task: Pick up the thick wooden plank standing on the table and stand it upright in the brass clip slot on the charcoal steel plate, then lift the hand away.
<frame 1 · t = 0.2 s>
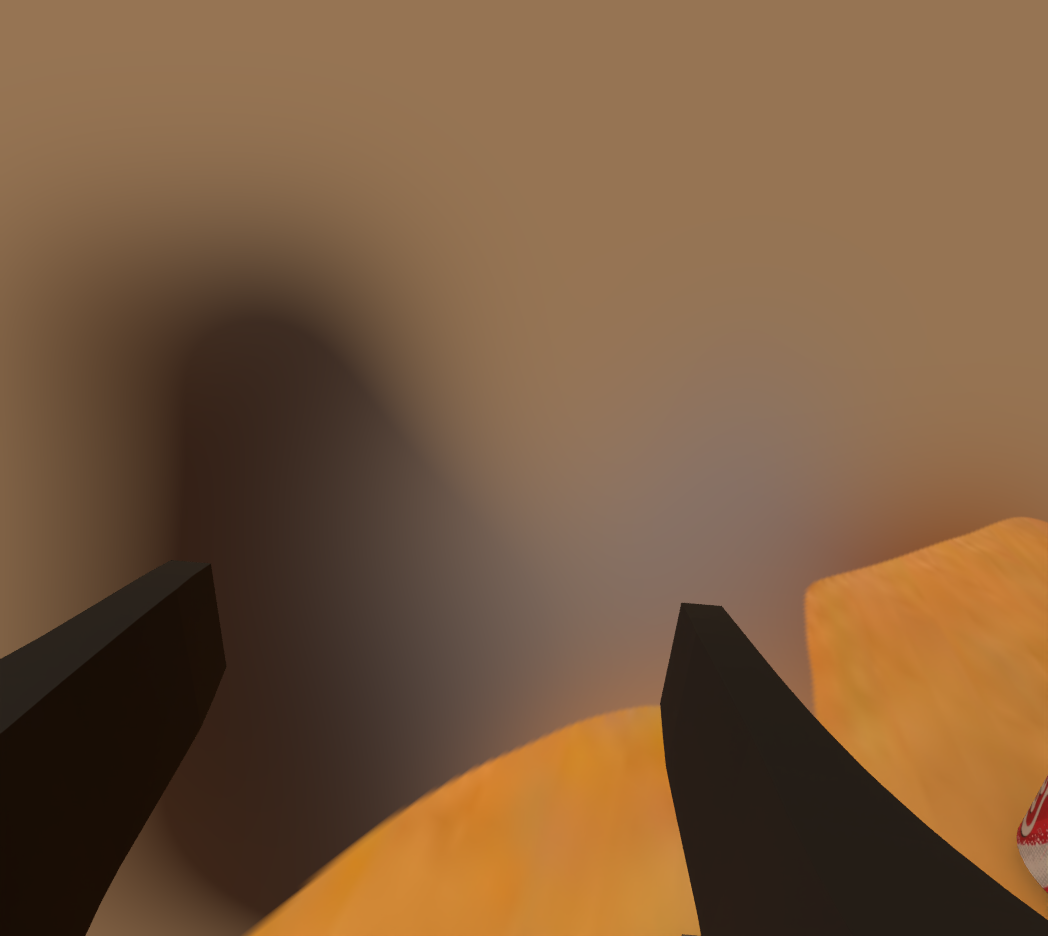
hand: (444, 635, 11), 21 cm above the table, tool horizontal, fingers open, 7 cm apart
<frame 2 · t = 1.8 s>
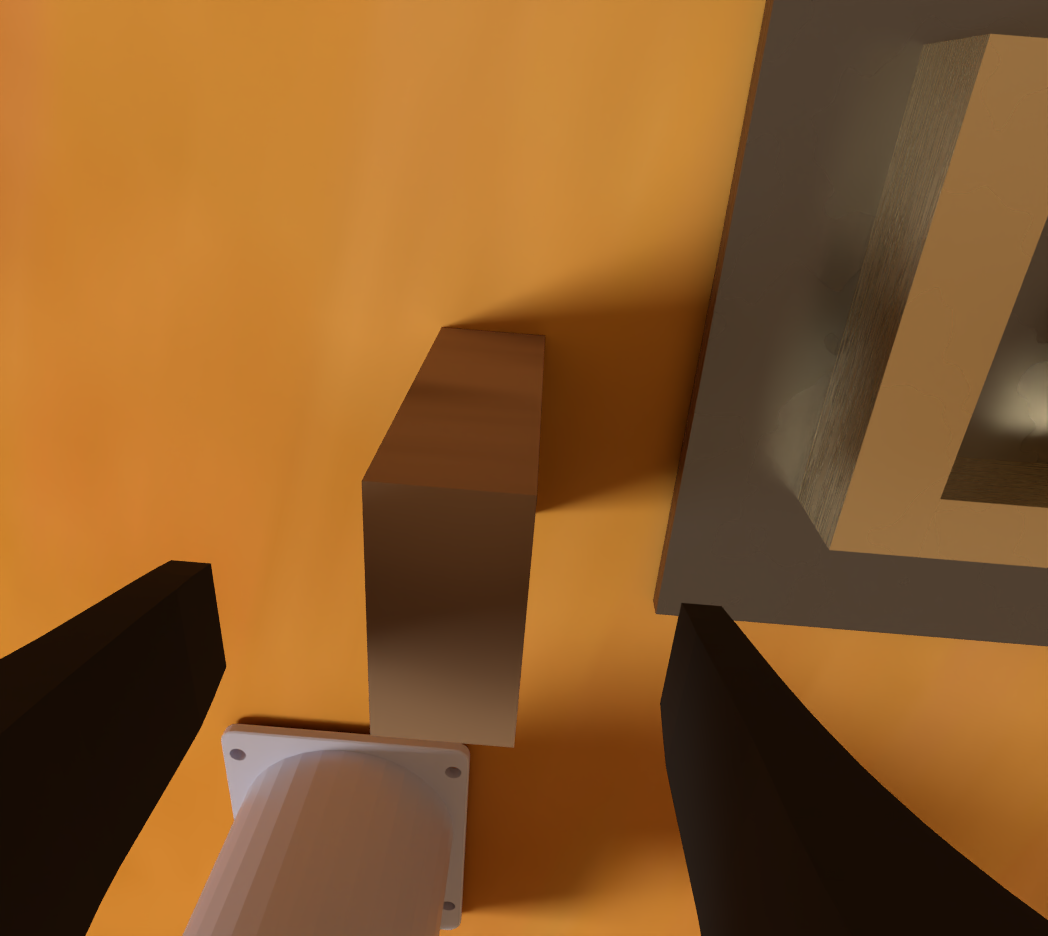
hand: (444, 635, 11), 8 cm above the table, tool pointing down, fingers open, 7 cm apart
thick wooden plank: (488, 426, 19), on the table
wick clip: (1015, 310, 17), on the table
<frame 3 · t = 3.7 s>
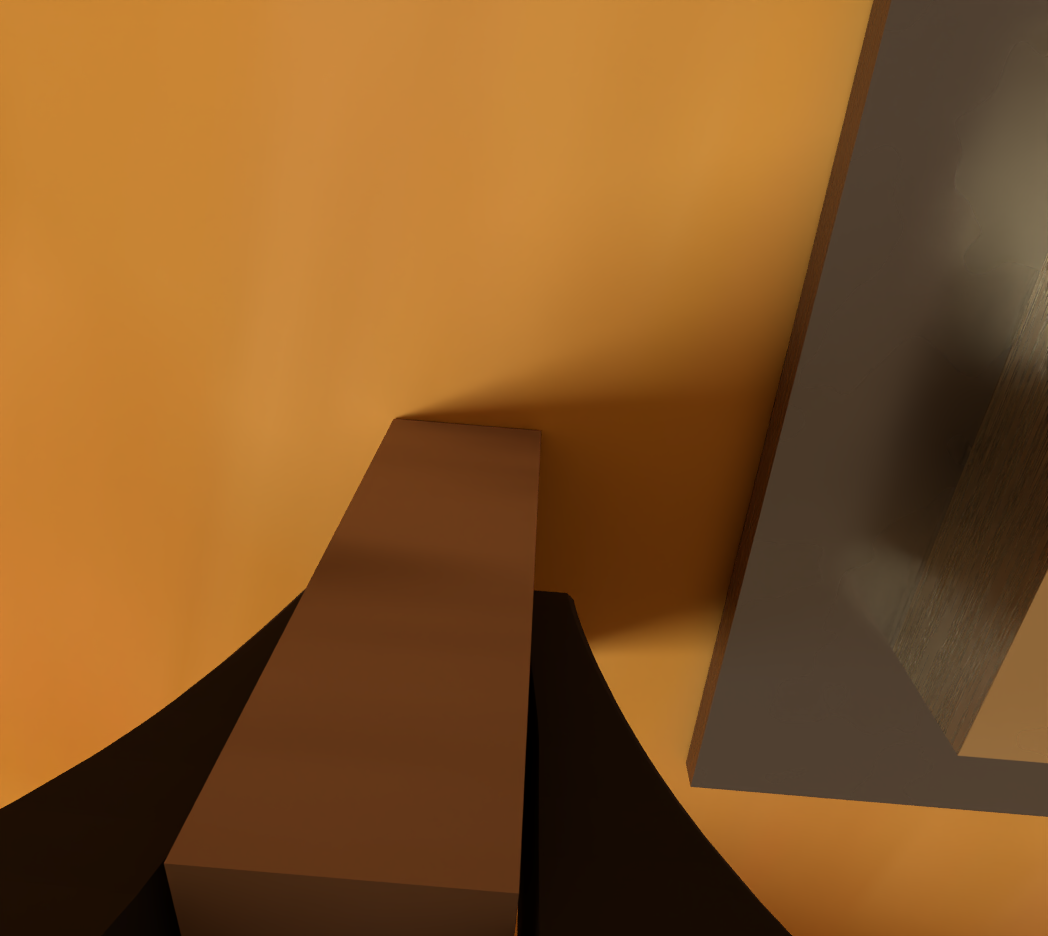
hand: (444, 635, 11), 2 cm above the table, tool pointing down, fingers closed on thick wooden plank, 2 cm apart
thick wooden plank: (462, 548, 13), on the table, touching gripper
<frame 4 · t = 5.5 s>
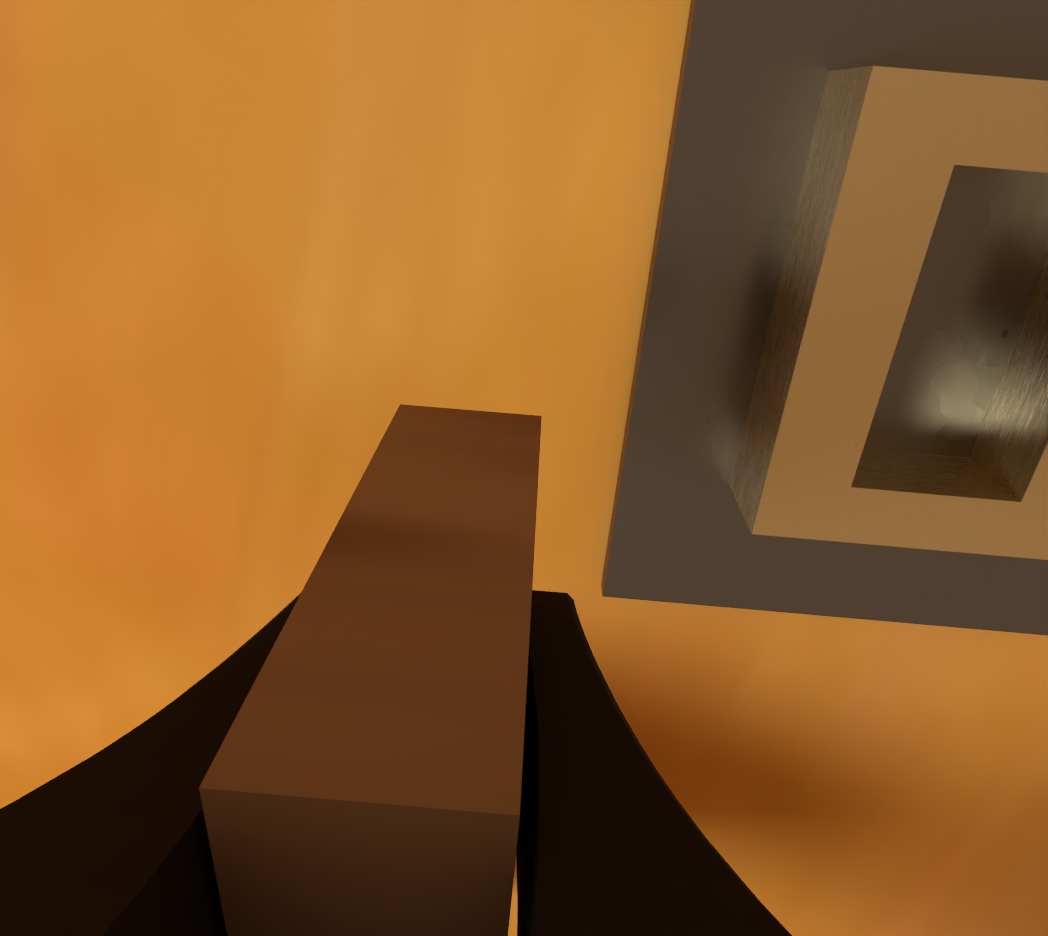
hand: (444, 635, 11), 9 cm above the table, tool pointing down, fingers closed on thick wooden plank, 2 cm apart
thick wooden plank: (465, 530, 14), point 6 cm above the table, touching gripper
wick clip: (926, 314, 18), on the table
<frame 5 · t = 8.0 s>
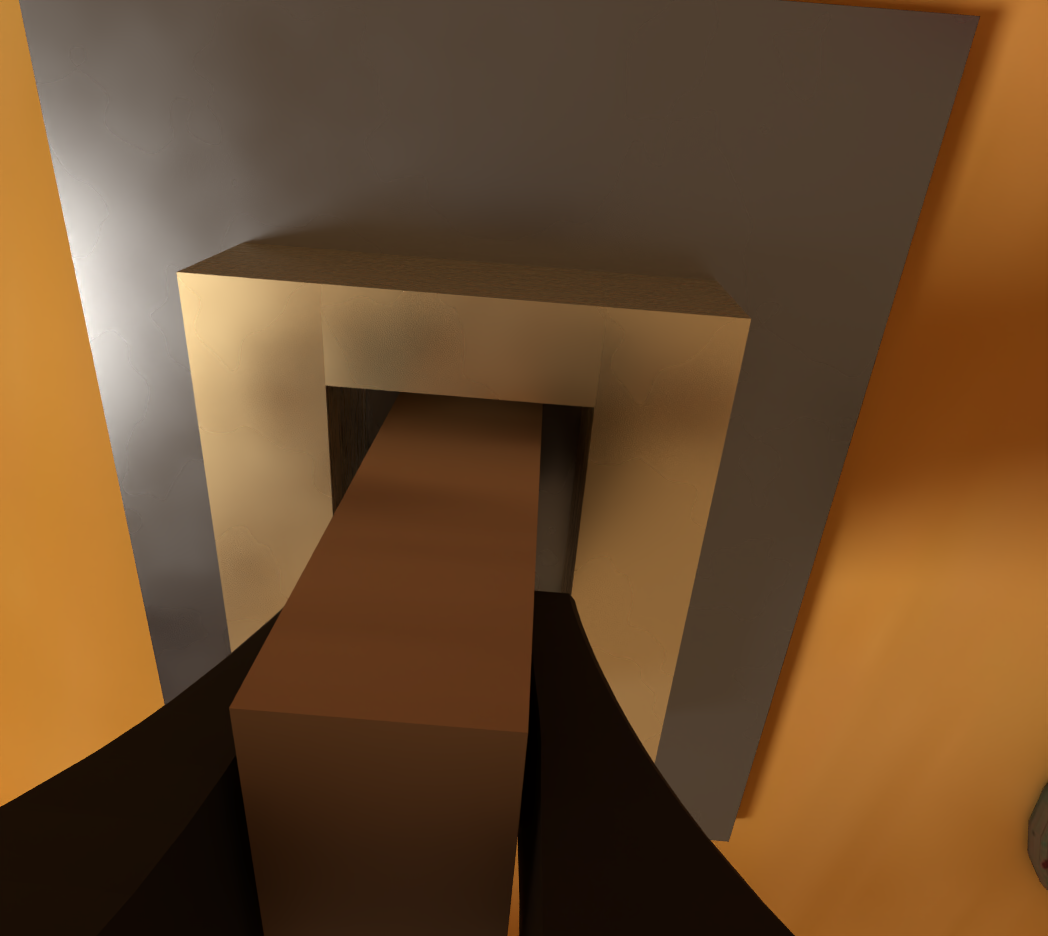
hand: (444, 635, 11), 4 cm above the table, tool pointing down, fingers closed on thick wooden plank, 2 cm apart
thick wooden plank: (469, 504, 14), point 1 cm above the table, touching gripper, wick clip
wick clip: (471, 502, 15), on the table
when the fingers open (4 cm above the table, at t = 9.0 s): thick wooden plank stays where it is, resting on wick clip.
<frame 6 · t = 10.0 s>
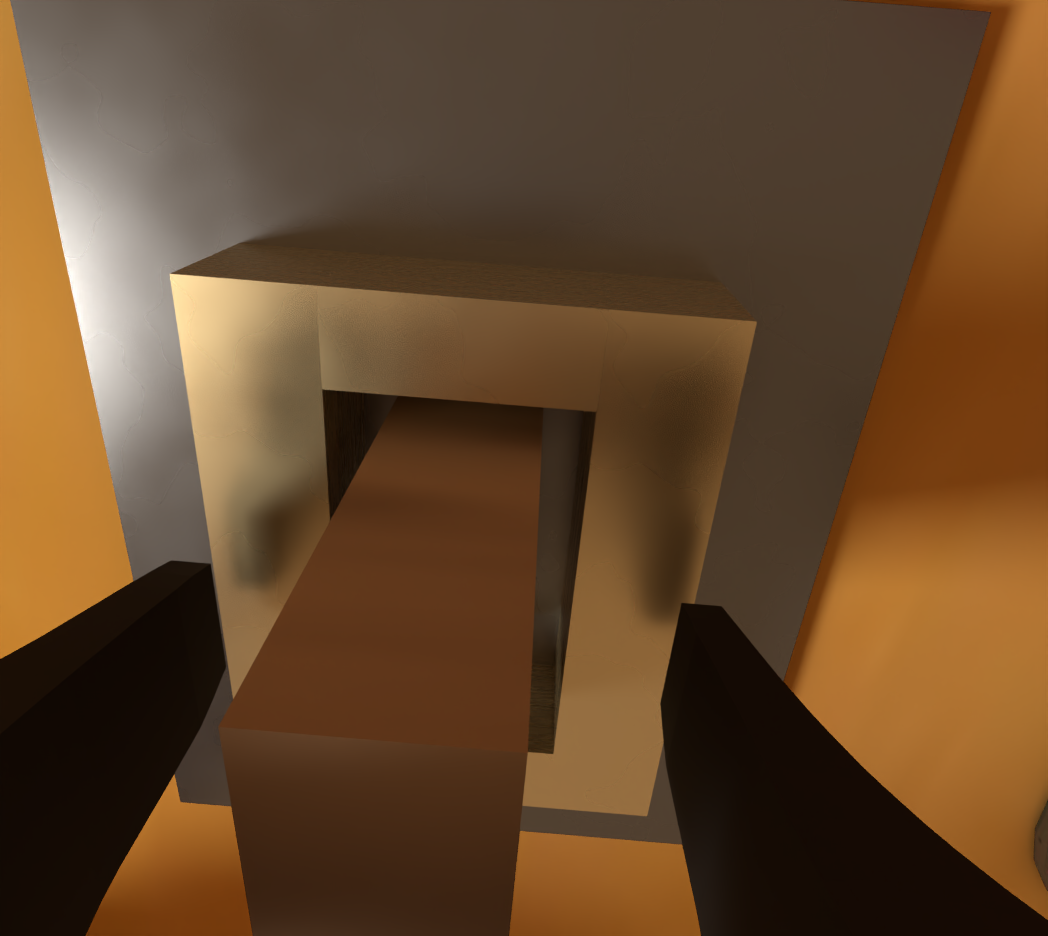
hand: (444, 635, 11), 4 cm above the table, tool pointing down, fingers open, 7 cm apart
thick wooden plank: (469, 508, 14), point 1 cm above the table, touching wick clip
wick clip: (471, 506, 15), on the table
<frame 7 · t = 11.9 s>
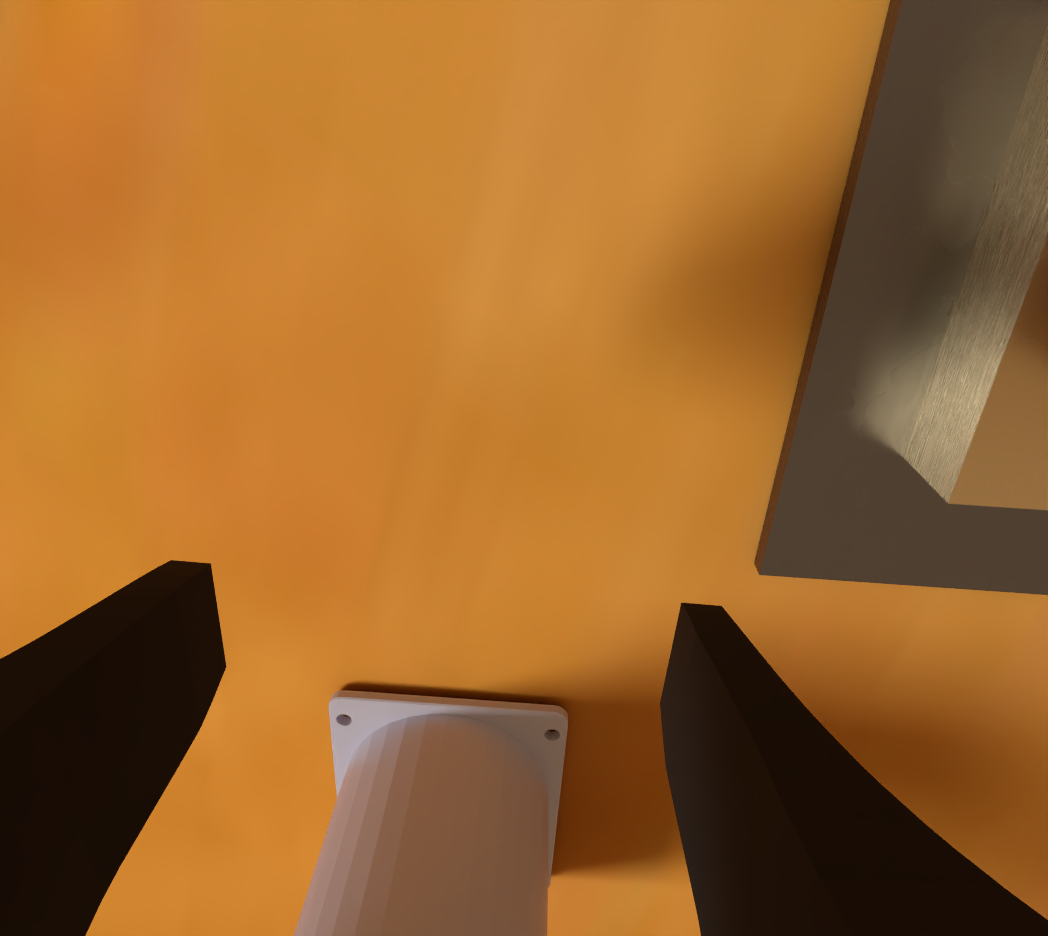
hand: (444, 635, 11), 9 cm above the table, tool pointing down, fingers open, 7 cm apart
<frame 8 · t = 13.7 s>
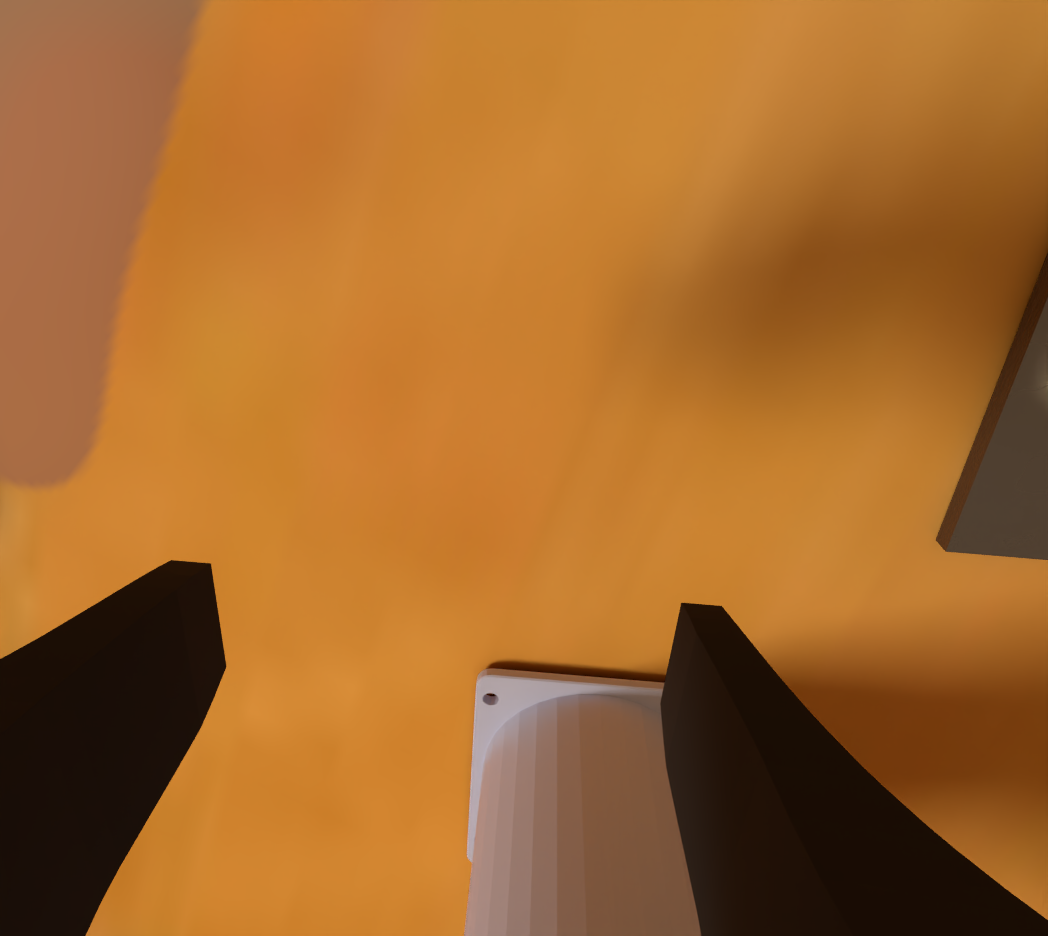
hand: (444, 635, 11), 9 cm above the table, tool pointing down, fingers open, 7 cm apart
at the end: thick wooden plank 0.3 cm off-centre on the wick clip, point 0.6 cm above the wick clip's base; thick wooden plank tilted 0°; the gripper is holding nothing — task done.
